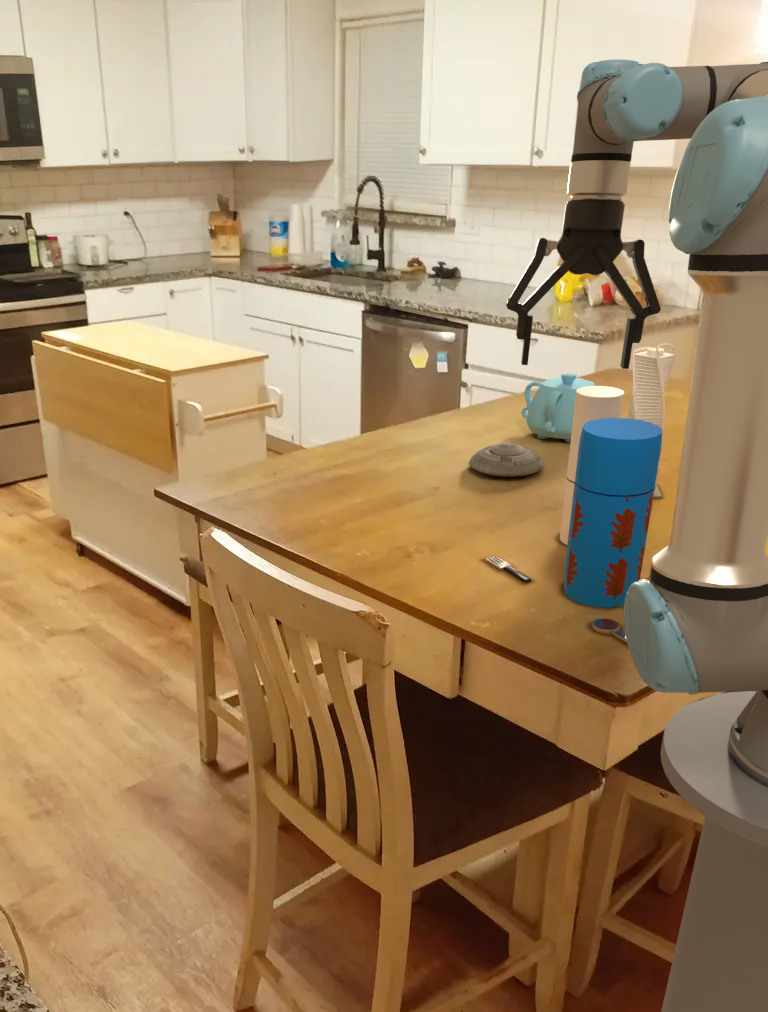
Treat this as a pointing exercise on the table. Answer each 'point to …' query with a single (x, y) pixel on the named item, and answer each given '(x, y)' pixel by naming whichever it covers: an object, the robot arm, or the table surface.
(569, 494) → the cylindrical container
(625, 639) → the metal disc paddle
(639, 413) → the skyscraper
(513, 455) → the flying saucer
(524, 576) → the fork
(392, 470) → the table surface
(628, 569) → the thermos
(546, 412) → the decorative pot
